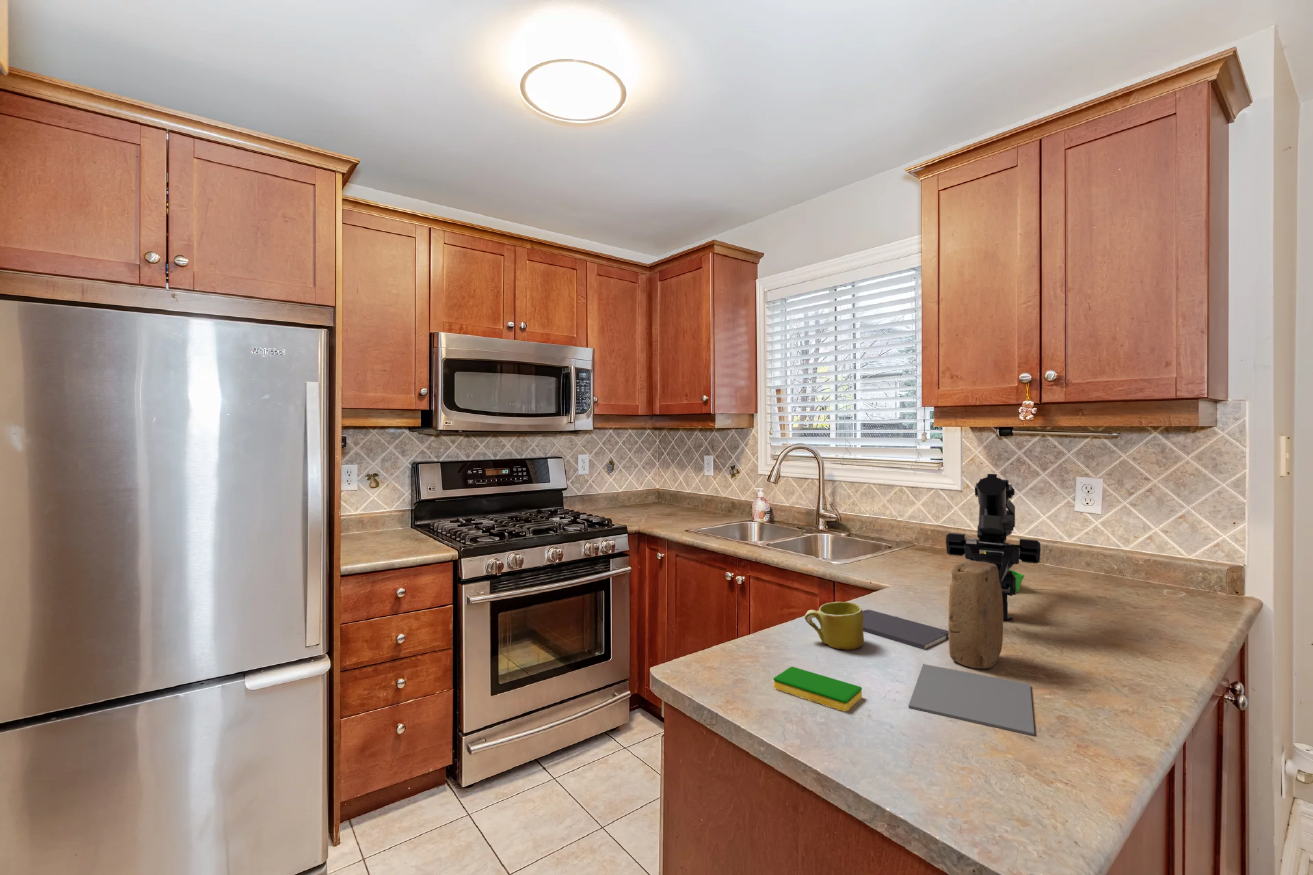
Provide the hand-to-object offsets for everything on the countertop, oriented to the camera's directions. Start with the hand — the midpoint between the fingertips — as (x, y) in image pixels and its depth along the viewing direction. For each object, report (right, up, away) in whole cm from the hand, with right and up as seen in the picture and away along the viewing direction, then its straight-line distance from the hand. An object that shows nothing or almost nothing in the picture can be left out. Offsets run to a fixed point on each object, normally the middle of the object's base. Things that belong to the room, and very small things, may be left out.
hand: (990, 579), depth 131 cm
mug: (-35, -14, -1) cm, 38 cm away
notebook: (-19, -14, +7) cm, 25 cm away
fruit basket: (+26, -13, +42) cm, 51 cm away
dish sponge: (-45, -15, -25) cm, 54 cm away
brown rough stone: (-9, -14, -11) cm, 20 cm away
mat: (-18, -14, -27) cm, 35 cm away
